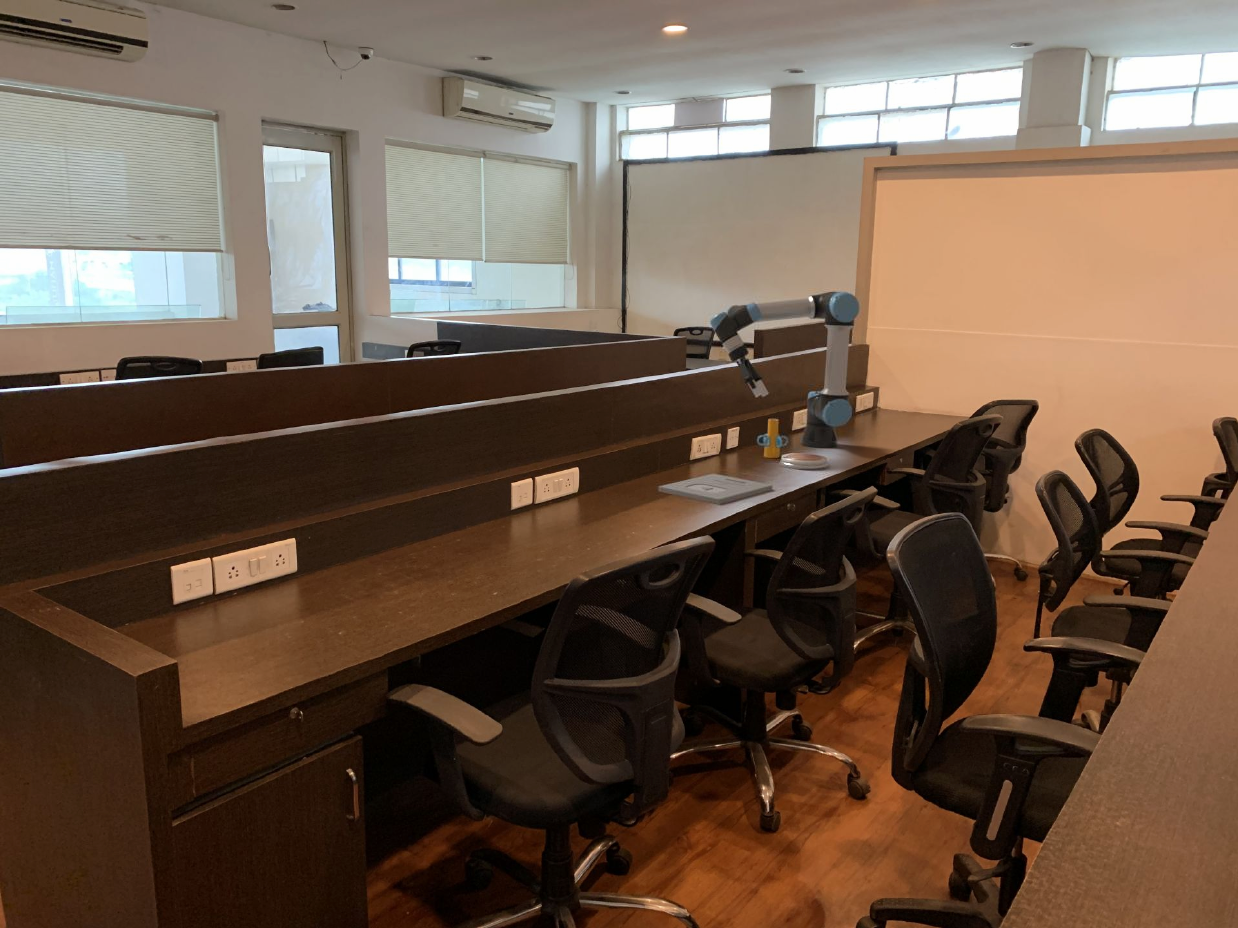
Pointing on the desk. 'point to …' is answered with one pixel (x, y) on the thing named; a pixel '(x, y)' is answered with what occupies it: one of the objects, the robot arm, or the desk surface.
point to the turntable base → (803, 466)
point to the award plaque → (715, 488)
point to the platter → (804, 459)
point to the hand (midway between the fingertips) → (762, 395)
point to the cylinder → (772, 440)
